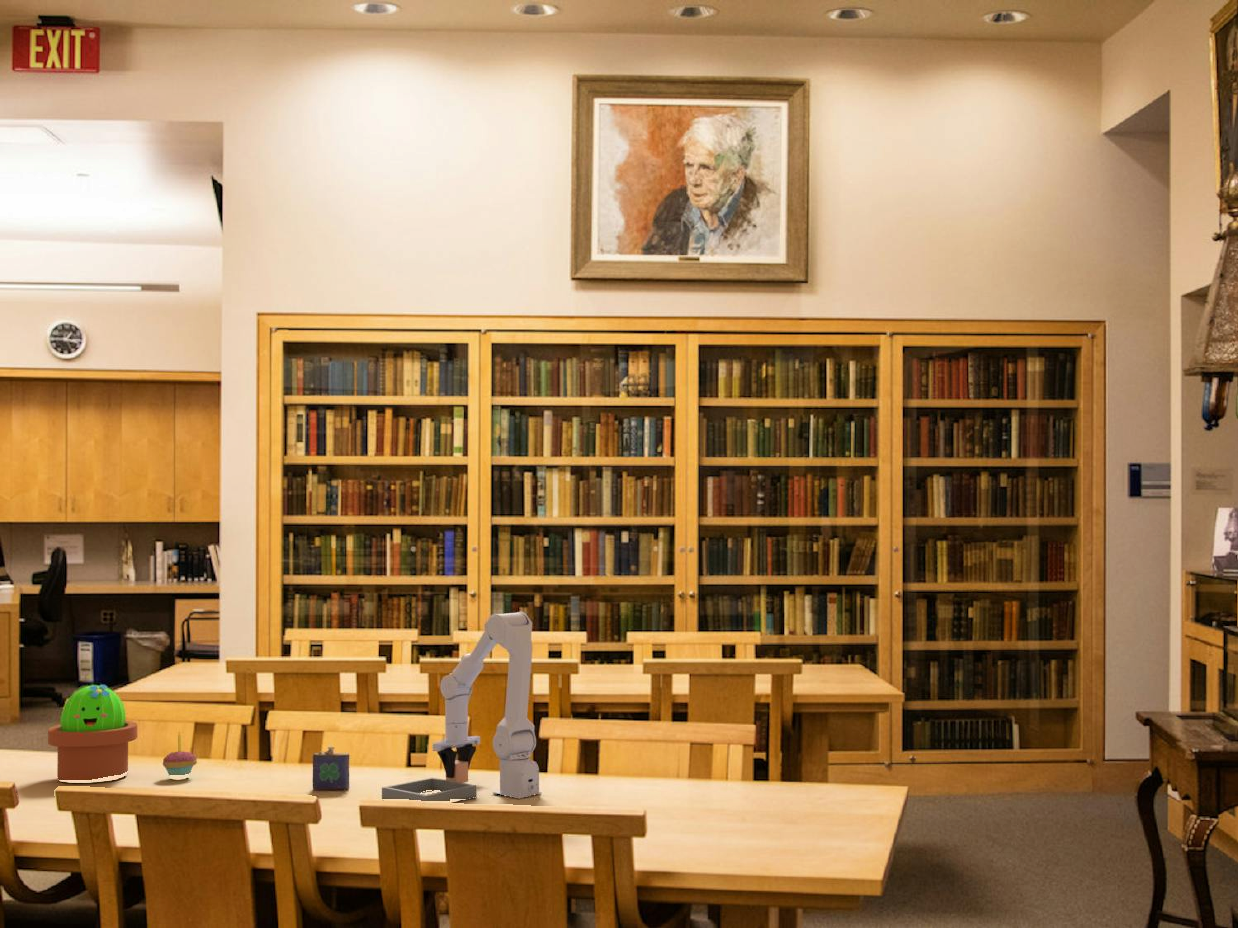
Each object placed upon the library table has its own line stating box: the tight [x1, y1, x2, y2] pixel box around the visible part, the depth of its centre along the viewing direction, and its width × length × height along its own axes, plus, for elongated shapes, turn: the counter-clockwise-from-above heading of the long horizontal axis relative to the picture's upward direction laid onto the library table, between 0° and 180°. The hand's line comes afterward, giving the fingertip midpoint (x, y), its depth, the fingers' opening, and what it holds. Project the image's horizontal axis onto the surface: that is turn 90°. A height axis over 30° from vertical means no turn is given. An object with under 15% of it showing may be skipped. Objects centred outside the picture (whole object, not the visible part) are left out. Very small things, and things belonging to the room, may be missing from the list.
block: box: [445, 759, 469, 783], centre depth 350 cm, size 4×4×5 cm
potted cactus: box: [47, 684, 138, 781], centre depth 362 cm, size 22×22×25 cm
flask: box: [312, 746, 350, 792], centre depth 344 cm, size 9×3×11 cm, turn 88°
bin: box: [381, 777, 477, 801], centre depth 331 cm, size 16×16×3 cm
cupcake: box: [162, 731, 198, 776], centre depth 360 cm, size 9×8×12 cm
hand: (456, 776), depth 350 cm, fingers closed on block, 4 cm apart
